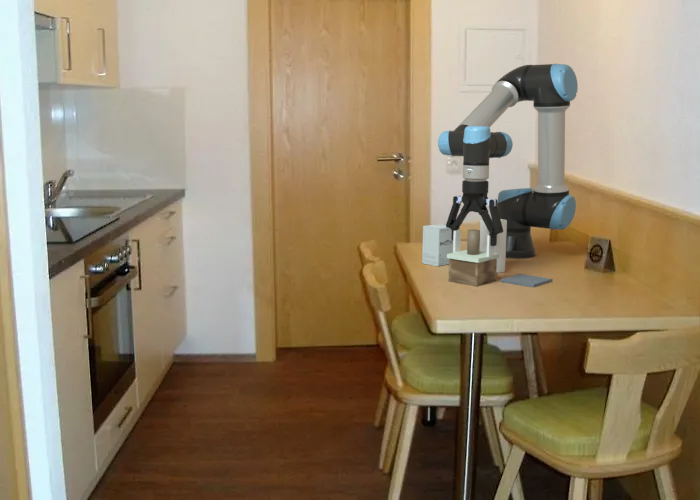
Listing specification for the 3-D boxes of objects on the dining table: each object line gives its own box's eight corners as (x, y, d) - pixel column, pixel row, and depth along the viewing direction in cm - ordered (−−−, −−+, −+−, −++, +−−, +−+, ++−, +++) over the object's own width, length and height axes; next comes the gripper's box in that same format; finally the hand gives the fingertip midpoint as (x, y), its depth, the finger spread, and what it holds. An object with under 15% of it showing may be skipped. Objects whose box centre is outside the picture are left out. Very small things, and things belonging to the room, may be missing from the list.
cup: (504, 273, 258) (506, 222, 255) (478, 272, 259) (479, 221, 256) (505, 268, 266) (507, 218, 263) (479, 267, 267) (481, 217, 264)
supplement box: (438, 266, 268) (439, 228, 265) (421, 263, 273) (422, 225, 271) (453, 264, 272) (454, 226, 270) (436, 260, 278) (437, 223, 276)
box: (467, 276, 252) (468, 253, 251) (495, 281, 246) (496, 257, 245) (448, 281, 245) (449, 258, 244) (477, 286, 239) (477, 262, 237)
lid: (467, 253, 252) (468, 226, 251) (499, 257, 245) (500, 230, 243) (446, 258, 244) (447, 230, 243) (478, 262, 237) (479, 234, 235)
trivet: (519, 276, 253) (519, 273, 253) (552, 281, 246) (552, 278, 246) (500, 281, 245) (500, 279, 245) (533, 287, 238) (533, 284, 238)
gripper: (435, 178, 245) (433, 251, 249) (503, 183, 230) (500, 261, 234) (449, 176, 251) (447, 248, 255) (517, 181, 235) (514, 257, 239)
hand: (473, 254), depth 244 cm, fingers closed on lid, 11 cm apart
